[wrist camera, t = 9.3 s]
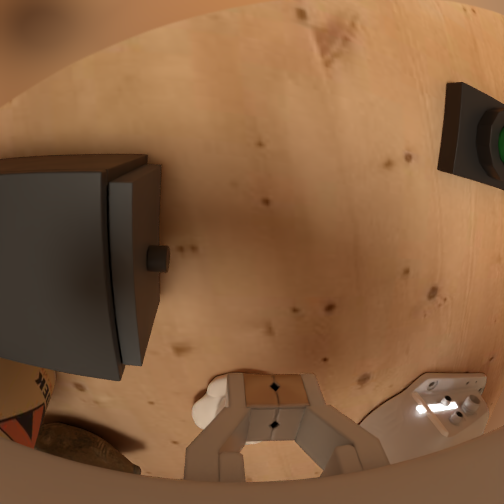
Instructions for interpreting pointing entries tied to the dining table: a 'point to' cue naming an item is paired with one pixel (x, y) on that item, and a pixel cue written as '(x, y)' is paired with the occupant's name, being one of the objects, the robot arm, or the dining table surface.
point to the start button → (501, 145)
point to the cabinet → (59, 263)
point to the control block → (472, 135)
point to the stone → (82, 448)
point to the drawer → (135, 257)
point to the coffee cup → (23, 400)
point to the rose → (212, 403)
